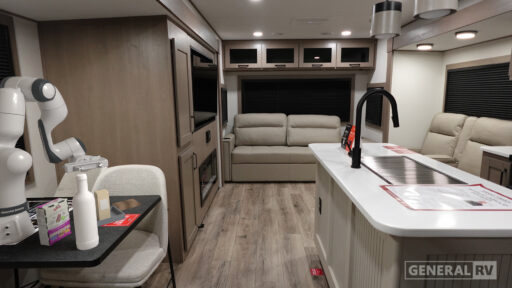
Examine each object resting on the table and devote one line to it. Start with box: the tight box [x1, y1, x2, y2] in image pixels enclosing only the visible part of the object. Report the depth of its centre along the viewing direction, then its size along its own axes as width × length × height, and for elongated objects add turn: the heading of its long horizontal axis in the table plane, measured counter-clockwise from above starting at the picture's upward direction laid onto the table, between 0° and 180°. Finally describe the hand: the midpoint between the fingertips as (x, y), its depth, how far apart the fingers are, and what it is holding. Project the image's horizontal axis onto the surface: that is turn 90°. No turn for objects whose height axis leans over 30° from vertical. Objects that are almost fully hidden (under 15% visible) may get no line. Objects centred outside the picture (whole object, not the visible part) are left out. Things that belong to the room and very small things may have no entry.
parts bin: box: [97, 205, 126, 228], centre depth 142 cm, size 15×15×3 cm
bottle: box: [71, 173, 100, 251], centre depth 115 cm, size 8×8×30 cm
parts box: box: [93, 188, 111, 220], centre depth 141 cm, size 5×5×14 cm
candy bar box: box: [34, 197, 73, 247], centre depth 121 cm, size 11×5×16 cm, turn 168°
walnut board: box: [110, 198, 143, 212], centre depth 159 cm, size 12×12×1 cm
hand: (91, 167), depth 147 cm, fingers open, 8 cm apart
